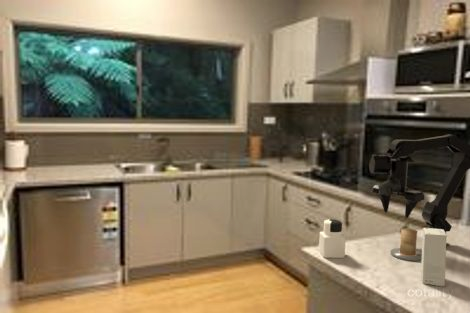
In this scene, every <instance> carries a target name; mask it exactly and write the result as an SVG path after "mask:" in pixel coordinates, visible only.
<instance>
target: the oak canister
mask: <svg viewBox="0 0 470 313" xmlns="http://www.w3.org/2000/svg"><path fill="white" fill-rule="evenodd" d="M400 229H401V230H400V242H399V244H400V245H399V246H400V247H399V248H400V253H401V254H404V255H409V256H413V255H415V254H416V250H417V240H418V239H417V238H418V230H416V229H413V228H405V227H403V228H400Z"/></svg>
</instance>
